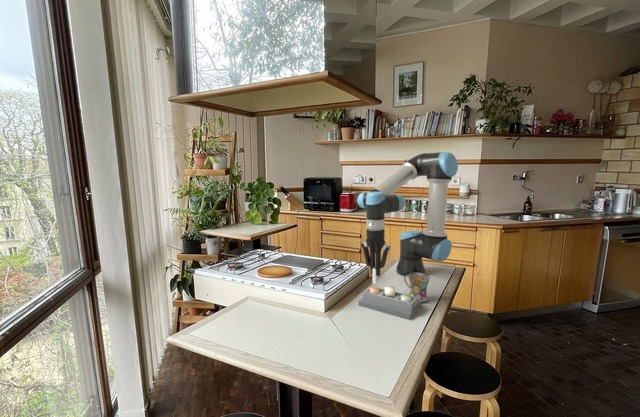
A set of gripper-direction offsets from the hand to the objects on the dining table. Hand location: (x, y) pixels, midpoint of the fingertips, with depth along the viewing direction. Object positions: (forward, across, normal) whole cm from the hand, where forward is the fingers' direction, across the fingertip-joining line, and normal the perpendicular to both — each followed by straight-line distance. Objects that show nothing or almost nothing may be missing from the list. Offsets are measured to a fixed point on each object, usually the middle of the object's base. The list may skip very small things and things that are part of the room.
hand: (375, 282), depth 132 cm
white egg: (+4, +7, 0) cm, 8 cm away
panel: (+9, +7, -1) cm, 11 cm away
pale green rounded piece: (+7, +14, -1) cm, 15 cm away
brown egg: (+6, 0, -1) cm, 6 cm away
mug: (+9, +13, +13) cm, 21 cm away
